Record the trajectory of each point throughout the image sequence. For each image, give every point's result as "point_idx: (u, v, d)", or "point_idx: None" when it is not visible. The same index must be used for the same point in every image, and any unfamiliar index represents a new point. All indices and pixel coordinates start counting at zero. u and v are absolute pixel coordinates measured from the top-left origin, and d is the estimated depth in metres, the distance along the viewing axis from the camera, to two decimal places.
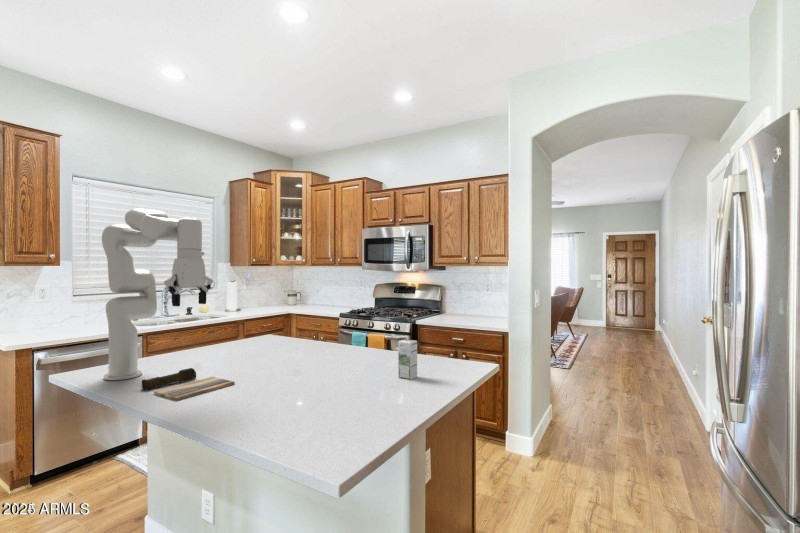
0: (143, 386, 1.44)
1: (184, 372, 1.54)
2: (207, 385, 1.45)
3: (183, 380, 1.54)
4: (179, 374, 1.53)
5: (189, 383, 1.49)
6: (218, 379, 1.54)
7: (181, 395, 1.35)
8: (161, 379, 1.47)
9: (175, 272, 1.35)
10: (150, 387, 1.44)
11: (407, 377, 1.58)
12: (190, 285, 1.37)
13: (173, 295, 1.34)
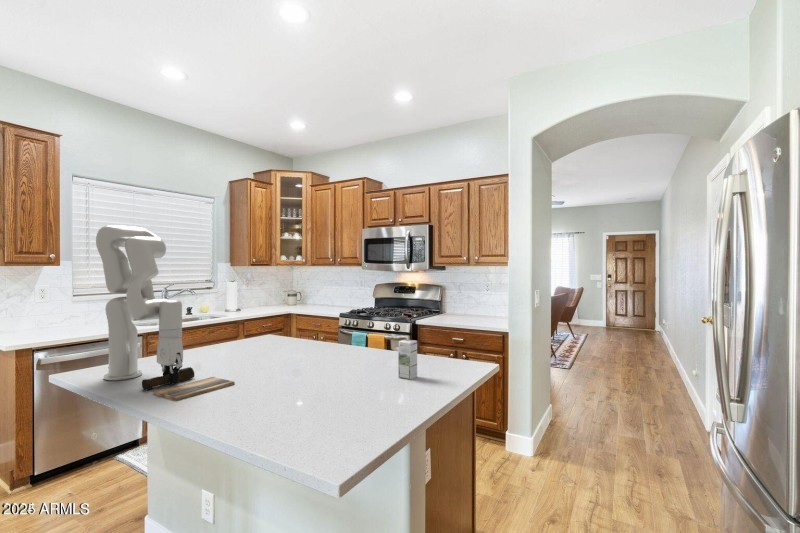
0: (144, 386, 1.43)
1: (183, 371, 1.55)
2: (207, 385, 1.45)
3: (182, 379, 1.54)
4: (178, 373, 1.53)
5: (189, 383, 1.49)
6: (218, 379, 1.54)
7: (181, 395, 1.35)
8: (161, 378, 1.47)
9: (177, 351, 1.49)
10: (151, 387, 1.44)
11: (407, 377, 1.58)
12: None
13: (175, 374, 1.50)
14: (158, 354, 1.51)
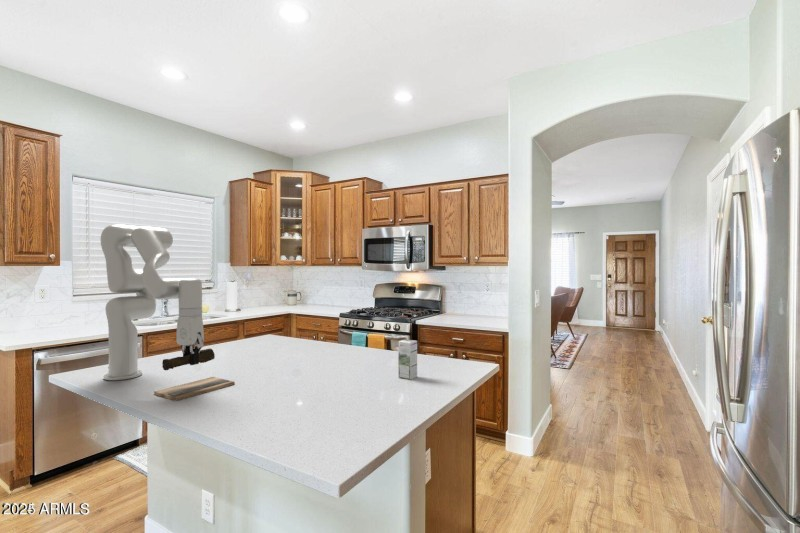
0: (164, 366, 1.39)
1: (204, 352, 1.50)
2: (207, 385, 1.45)
3: (203, 360, 1.50)
4: (199, 354, 1.48)
5: (189, 383, 1.49)
6: (218, 379, 1.54)
7: (181, 395, 1.35)
8: (182, 359, 1.42)
9: (198, 330, 1.44)
10: (172, 367, 1.39)
11: (407, 377, 1.58)
12: None
13: (196, 354, 1.45)
14: (178, 334, 1.46)
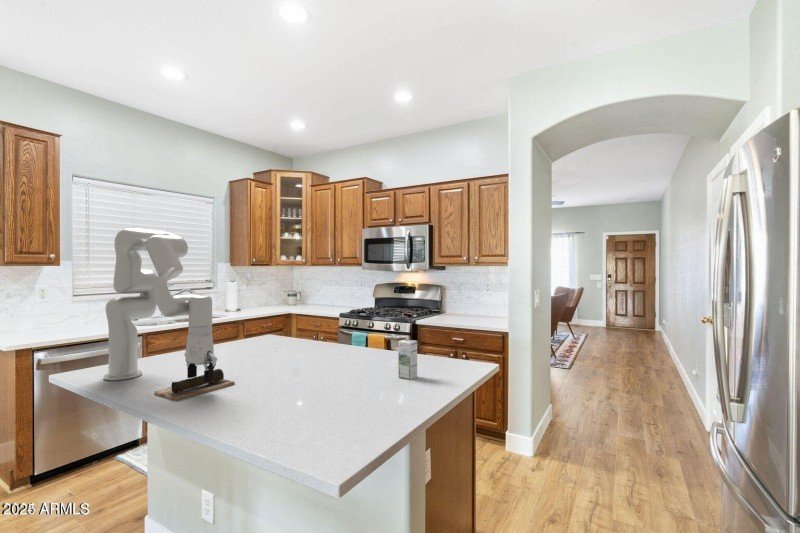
0: (174, 389, 1.36)
1: (213, 373, 1.47)
2: (207, 385, 1.45)
3: (212, 382, 1.47)
4: None
5: None
6: None
7: (181, 395, 1.35)
8: (191, 381, 1.39)
9: (208, 349, 1.41)
10: (181, 390, 1.36)
11: (407, 377, 1.58)
12: None
13: (210, 371, 1.41)
14: (187, 352, 1.43)
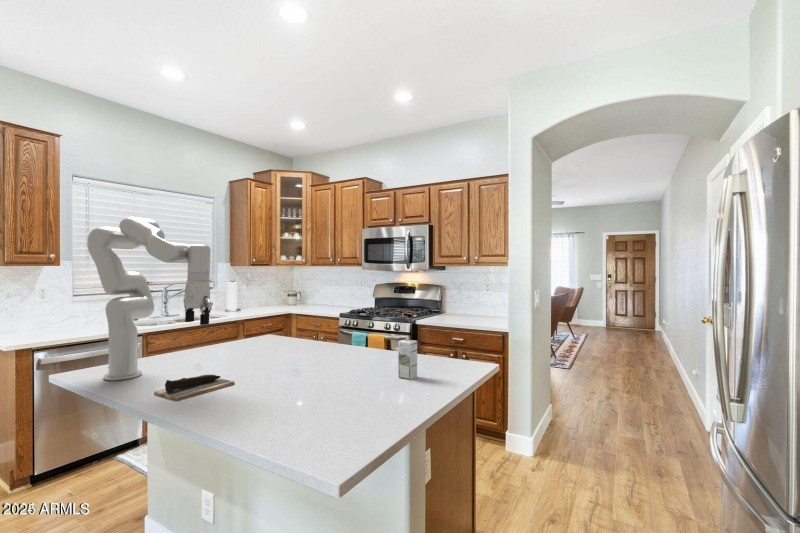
0: (168, 386, 1.37)
1: (203, 375, 1.50)
2: (207, 385, 1.45)
3: (206, 375, 1.48)
4: None
5: None
6: (218, 379, 1.54)
7: (181, 395, 1.35)
8: (181, 379, 1.43)
9: (205, 294, 1.50)
10: (173, 381, 1.39)
11: (407, 377, 1.58)
12: None
13: (206, 315, 1.49)
14: (186, 297, 1.52)
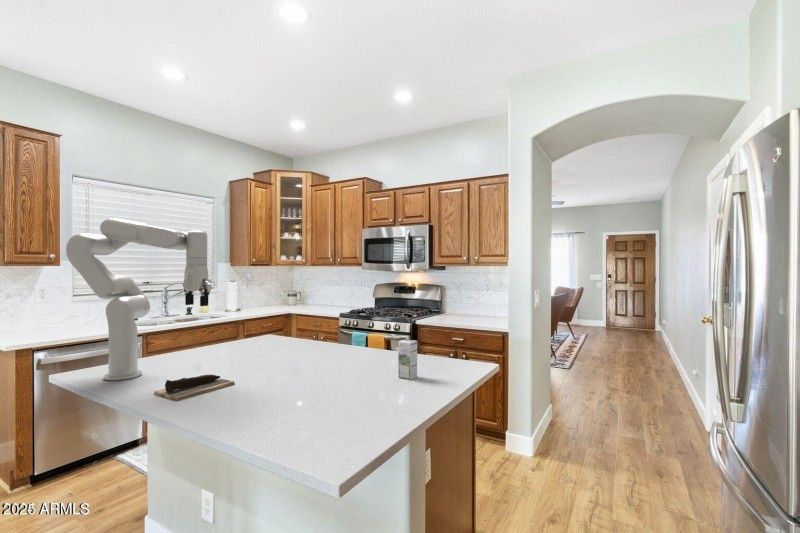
0: (168, 386, 1.37)
1: (203, 375, 1.50)
2: (207, 385, 1.45)
3: (206, 375, 1.48)
4: None
5: None
6: (218, 379, 1.54)
7: (181, 395, 1.35)
8: (181, 379, 1.43)
9: (204, 277, 1.59)
10: (173, 381, 1.39)
11: (407, 377, 1.58)
12: None
13: (206, 296, 1.59)
14: (185, 281, 1.61)
